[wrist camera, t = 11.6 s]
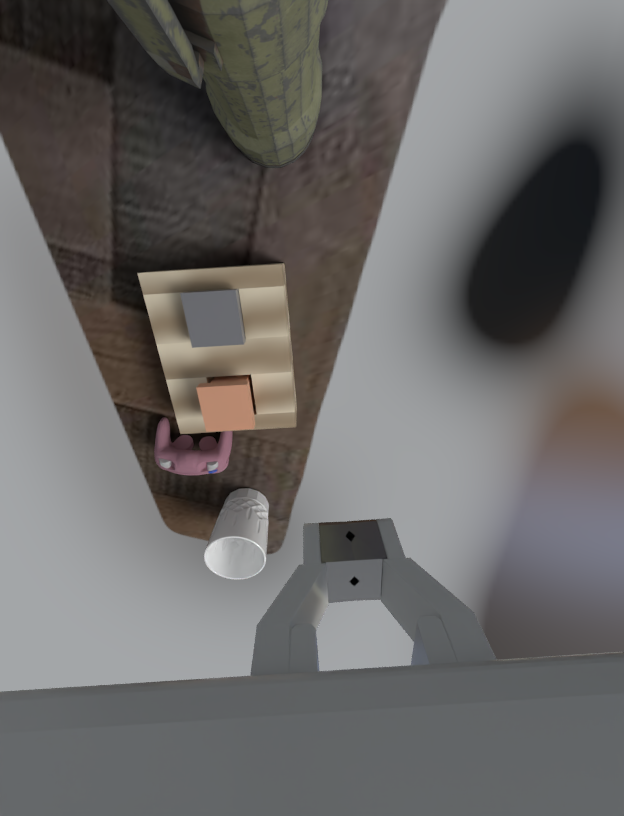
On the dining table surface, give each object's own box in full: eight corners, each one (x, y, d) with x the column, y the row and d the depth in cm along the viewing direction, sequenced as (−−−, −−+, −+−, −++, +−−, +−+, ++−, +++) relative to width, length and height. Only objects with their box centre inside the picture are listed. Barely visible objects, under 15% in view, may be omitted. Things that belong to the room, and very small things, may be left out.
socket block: (158, 270, 36) (137, 273, 31) (284, 262, 36) (281, 264, 31) (193, 415, 43) (180, 434, 39) (296, 409, 43) (296, 426, 39)
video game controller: (167, 432, 46) (151, 477, 42) (158, 413, 43) (140, 460, 38) (236, 436, 47) (228, 481, 43) (233, 418, 43) (224, 465, 39)
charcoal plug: (200, 286, 36) (180, 293, 30) (246, 283, 36) (235, 289, 30) (209, 333, 38) (192, 347, 32) (252, 330, 38) (243, 344, 32)
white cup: (269, 482, 49) (262, 534, 40) (274, 521, 52) (269, 577, 43) (217, 485, 49) (198, 538, 40) (226, 524, 52) (210, 581, 43)
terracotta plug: (212, 367, 39) (196, 387, 33) (255, 364, 39) (247, 384, 33) (220, 405, 41) (206, 432, 35) (261, 403, 41) (253, 429, 35)
